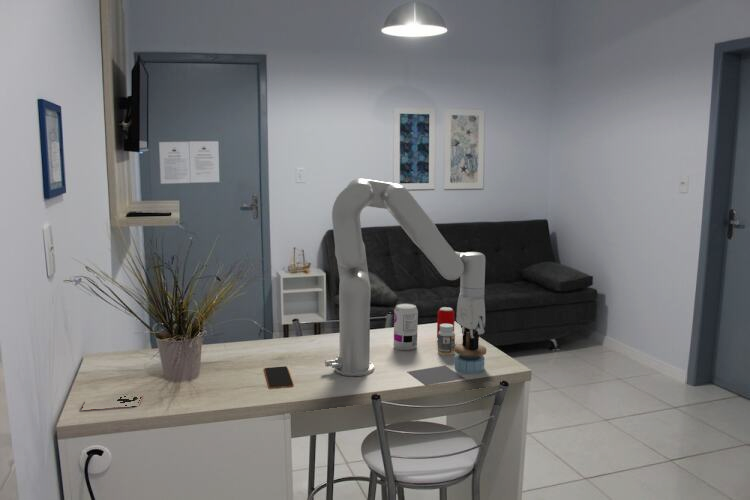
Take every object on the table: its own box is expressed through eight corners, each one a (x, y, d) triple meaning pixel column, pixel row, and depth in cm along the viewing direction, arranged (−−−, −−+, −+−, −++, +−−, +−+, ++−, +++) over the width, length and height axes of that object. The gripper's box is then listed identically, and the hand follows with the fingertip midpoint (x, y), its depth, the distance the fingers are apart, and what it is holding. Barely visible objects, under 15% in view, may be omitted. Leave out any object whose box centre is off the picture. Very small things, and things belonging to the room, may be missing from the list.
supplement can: (391, 349, 218) (391, 308, 215) (397, 342, 226) (397, 302, 223) (413, 352, 216) (414, 310, 213) (419, 344, 223) (420, 304, 221)
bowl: (464, 375, 194) (465, 363, 194) (449, 366, 202) (449, 354, 202) (489, 371, 198) (490, 359, 197) (473, 362, 206) (473, 350, 206)
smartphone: (268, 390, 183) (268, 387, 182) (263, 370, 198) (263, 367, 198) (294, 387, 185) (294, 385, 184) (287, 368, 200) (287, 365, 200)
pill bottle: (455, 356, 212) (456, 327, 210) (438, 355, 212) (439, 327, 211) (453, 350, 218) (454, 323, 216) (436, 350, 218) (437, 322, 216)
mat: (425, 386, 186) (425, 385, 186) (406, 372, 196) (406, 371, 196) (465, 379, 192) (465, 378, 191) (445, 366, 202) (445, 365, 202)
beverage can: (443, 344, 224) (444, 311, 222) (433, 339, 230) (434, 307, 228) (457, 341, 227) (458, 309, 225) (447, 336, 233) (448, 305, 231)
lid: (465, 358, 193) (466, 339, 192) (448, 348, 202) (449, 330, 201) (492, 354, 197) (493, 335, 196) (474, 344, 206) (475, 327, 205)
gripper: (448, 287, 202) (446, 341, 205) (476, 298, 187) (474, 357, 190) (467, 285, 205) (466, 339, 208) (497, 296, 190) (495, 354, 193)
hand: (470, 347), depth 199 cm, fingers closed on lid, 3 cm apart
